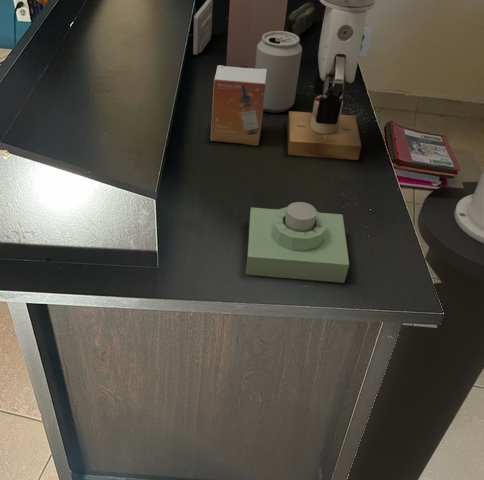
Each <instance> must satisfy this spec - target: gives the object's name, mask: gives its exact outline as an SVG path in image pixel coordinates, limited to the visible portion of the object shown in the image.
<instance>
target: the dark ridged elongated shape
mask: <svg viewBox="0 0 484 480" xmlns="http://www.w3.org/2000/svg"><path fill="white" fill-rule="evenodd" d="M315 11H316V5H315V3H313V2H305V3H304V4H303V5H301V6H300V7H299V8H298V9H295V10H293V11H292V12H291V13H290V14H289V15H288V18H287V20H286V25H285V27H286V28H285V32H290V33H293V34H295V35H297V36H298V37H300V36H301V35H302V34H303V33H304V32H305V31H307V30H309V28H310V27H311V26H312V25H313V23H314V18H315Z"/></svg>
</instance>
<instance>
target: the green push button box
mask: <svg viewBox="0 0 484 480" xmlns="http://www.w3.org/2000/svg"><path fill="white" fill-rule="evenodd" d="M287 207H288V206H285V207H282V208H279V209H277V208H264V207H250V209H249V210H250V211H249V219H248V230H247V245H246V248H247V249H246V262H245V263H246V264H245V265H246V266H245V275H247V276H256V277H257V276H258V277H270V278H283V279H293V280H304V281H305V280H306V281H315V282H316V281H317V282H329V283H340V284H344V283H345V282H346V279H347V275H348V272H349V267H350V260H349V251H348V244H347V238H346V230H345V223H344V222H345V221H344V215H343V214H341V213H329V212H328V213H327V212H319V211H317V210H316V211H317V214H316V219H315V224H314V228H313V229H312V230H311V231H308V232H295V231H293V230H291V229H288V228H287V227H286V226H285V216H286V210H287Z"/></svg>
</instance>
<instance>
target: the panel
mask: <svg viewBox="0 0 484 480" xmlns="http://www.w3.org/2000/svg"><path fill="white" fill-rule="evenodd" d="M287 116H288V117H287V123H286V129H287V131H286V132H287V133H286V134H287V155H288V156H295V157H296V156H297V157H309V158H310V157H312V158H325V159H339V160H353V161H356V160H357V161H359V158H360V154H361V150H362V142H361V138H360V137H361V136H360V132H359V127H358V122H357V117H356V115H352V114H351V115H350V114H341V116H340V121H339V126H338V130H337V131H336V132H335V133H332V134H321V133H317V132H315V131H313V130H312V129H311V127H310V124H311V118H312V112H307V111H305V112H304V111H292V110H291V111H290V110H289V111H288V115H287Z"/></svg>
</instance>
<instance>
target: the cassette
mask: <svg viewBox="0 0 484 480" xmlns="http://www.w3.org/2000/svg"><path fill="white" fill-rule="evenodd" d="M213 5H214V0H205V2H204V3H203V4H202V6H201V7H200V8H199V9H198V11H197V12H196V13H195V14H194V16H193V42H192V43H193V49H192V54H193V55H194V56H198V55H199V54H200V53H202V52H203V50H204V49H205V47H206V46H207V45H208V43H209V42H210V40H211V39H212V31H213V29H212V28H213Z"/></svg>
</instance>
